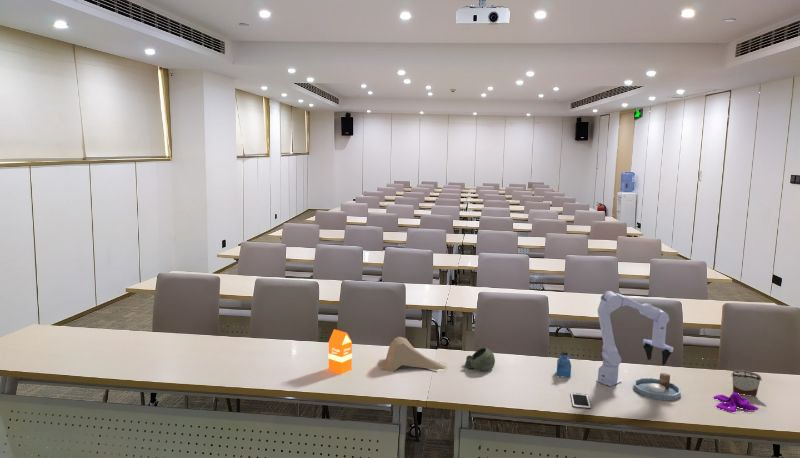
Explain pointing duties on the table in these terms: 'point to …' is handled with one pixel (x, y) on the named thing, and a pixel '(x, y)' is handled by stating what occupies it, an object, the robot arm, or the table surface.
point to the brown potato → (664, 380)
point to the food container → (745, 382)
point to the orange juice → (340, 352)
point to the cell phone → (580, 400)
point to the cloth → (734, 403)
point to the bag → (406, 357)
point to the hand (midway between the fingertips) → (656, 361)
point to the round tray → (656, 389)
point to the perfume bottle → (564, 365)
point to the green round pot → (481, 360)
